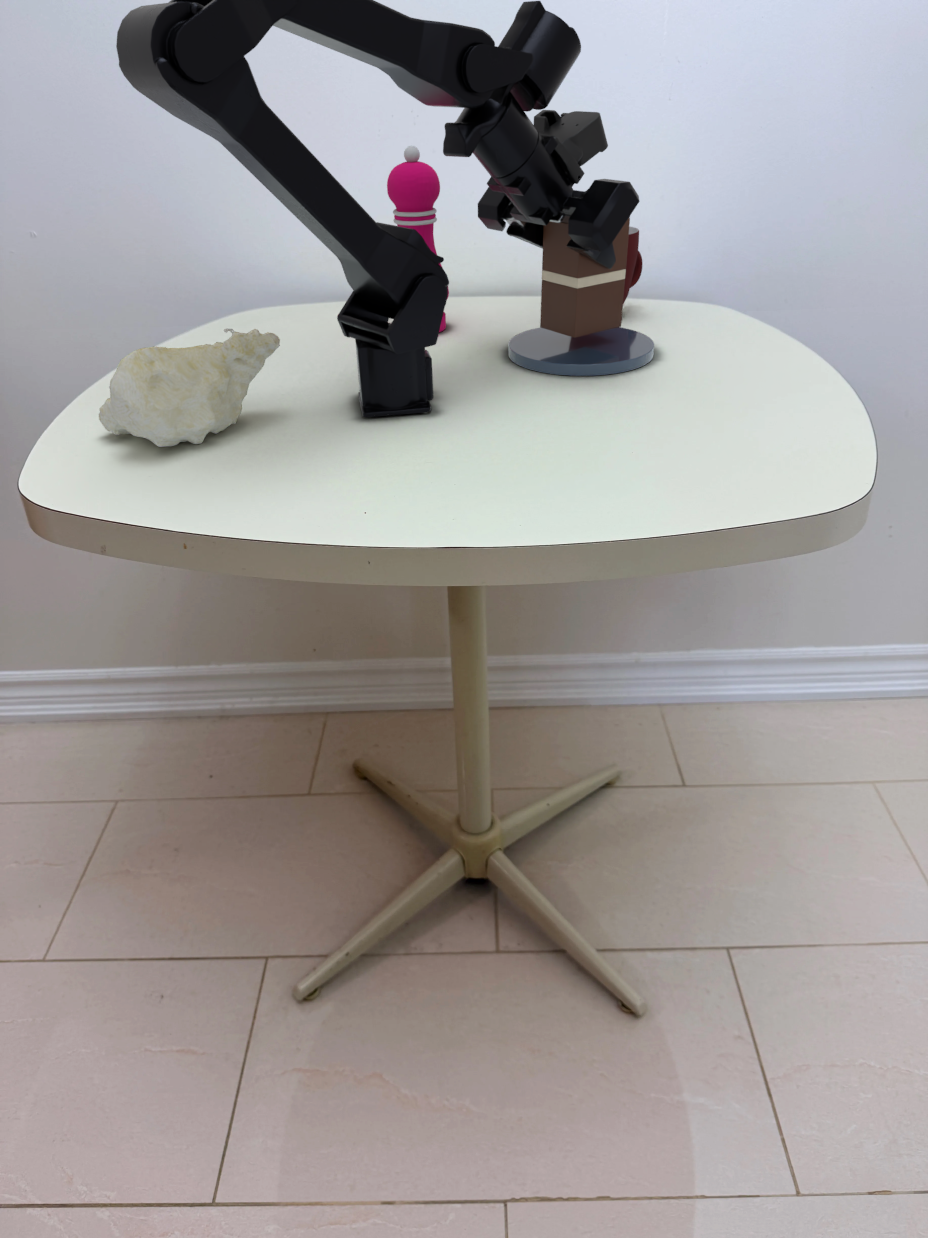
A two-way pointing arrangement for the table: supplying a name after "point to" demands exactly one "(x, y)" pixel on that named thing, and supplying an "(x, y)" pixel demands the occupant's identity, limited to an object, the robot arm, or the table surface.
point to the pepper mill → (415, 198)
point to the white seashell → (184, 388)
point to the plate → (581, 351)
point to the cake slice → (580, 285)
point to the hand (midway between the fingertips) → (593, 260)
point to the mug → (632, 261)
